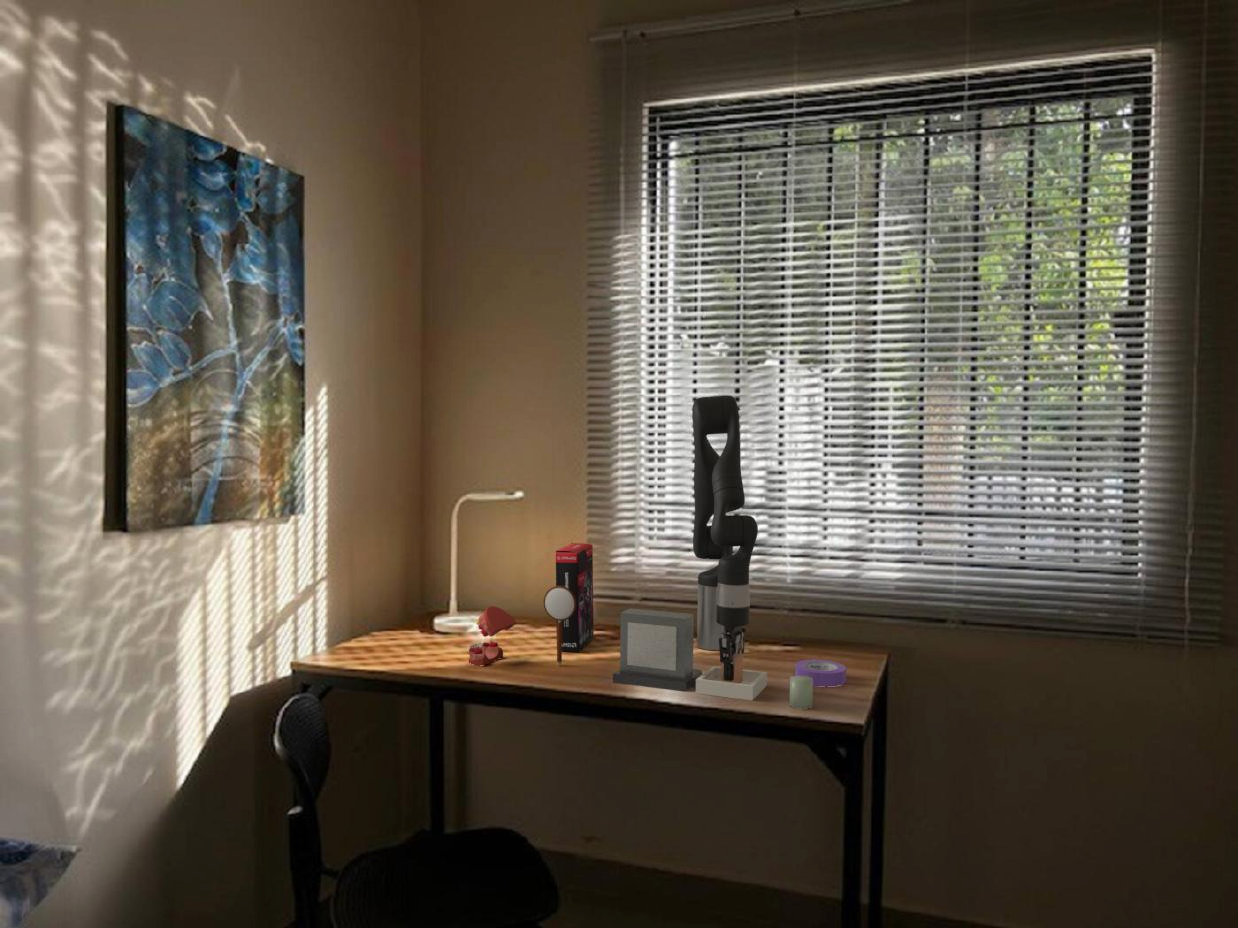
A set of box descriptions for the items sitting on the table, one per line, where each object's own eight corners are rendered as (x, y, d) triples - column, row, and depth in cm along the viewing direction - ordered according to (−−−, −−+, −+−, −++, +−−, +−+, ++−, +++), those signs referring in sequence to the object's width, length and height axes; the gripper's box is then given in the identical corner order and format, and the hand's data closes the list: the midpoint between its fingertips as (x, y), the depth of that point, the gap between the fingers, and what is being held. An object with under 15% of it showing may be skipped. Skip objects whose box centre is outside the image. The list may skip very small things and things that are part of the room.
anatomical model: (475, 651, 235) (494, 600, 233) (500, 665, 233) (520, 614, 230) (454, 661, 226) (474, 608, 223) (480, 676, 223) (501, 622, 221)
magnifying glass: (576, 666, 224) (577, 586, 223) (574, 668, 222) (574, 587, 222) (544, 663, 227) (545, 584, 226) (542, 664, 225) (542, 585, 225)
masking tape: (852, 688, 208) (853, 671, 208) (803, 689, 207) (803, 672, 207) (836, 675, 219) (836, 659, 219) (789, 675, 218) (789, 659, 218)
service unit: (632, 669, 221) (632, 605, 221) (702, 678, 214) (703, 611, 214) (612, 681, 210) (613, 613, 210) (685, 691, 203) (686, 620, 203)
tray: (712, 679, 214) (713, 666, 213) (766, 685, 208) (767, 672, 208) (695, 693, 202) (695, 679, 201) (752, 700, 196) (752, 686, 196)
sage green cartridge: (792, 701, 196) (792, 674, 196) (814, 704, 194) (814, 676, 194) (787, 707, 192) (787, 679, 191) (810, 710, 190) (810, 682, 189)
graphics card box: (579, 653, 237) (580, 550, 236) (553, 652, 239) (554, 549, 238) (594, 639, 254) (594, 543, 253) (570, 638, 255) (571, 542, 254)
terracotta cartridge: (724, 677, 208) (725, 651, 208) (745, 679, 206) (745, 653, 206) (718, 682, 204) (719, 655, 204) (739, 684, 202) (739, 658, 202)
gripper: (740, 609, 196) (739, 687, 197) (757, 599, 210) (756, 671, 210) (707, 606, 199) (706, 683, 200) (726, 596, 212) (725, 668, 213)
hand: (732, 676), depth 205 cm, fingers closed on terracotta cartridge, 4 cm apart
